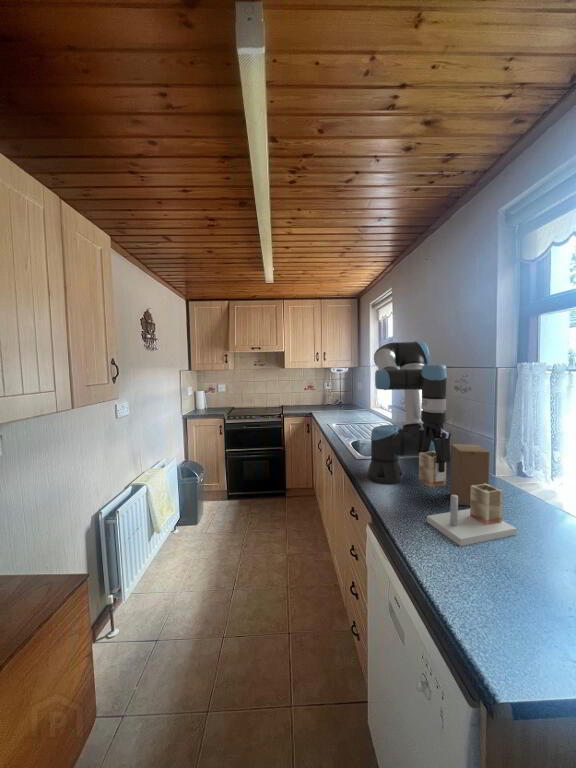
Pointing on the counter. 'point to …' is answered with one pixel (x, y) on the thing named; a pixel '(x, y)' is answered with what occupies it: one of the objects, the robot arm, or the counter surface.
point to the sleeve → (429, 469)
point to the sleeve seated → (486, 504)
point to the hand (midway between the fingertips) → (432, 476)
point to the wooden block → (467, 470)
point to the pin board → (468, 526)
